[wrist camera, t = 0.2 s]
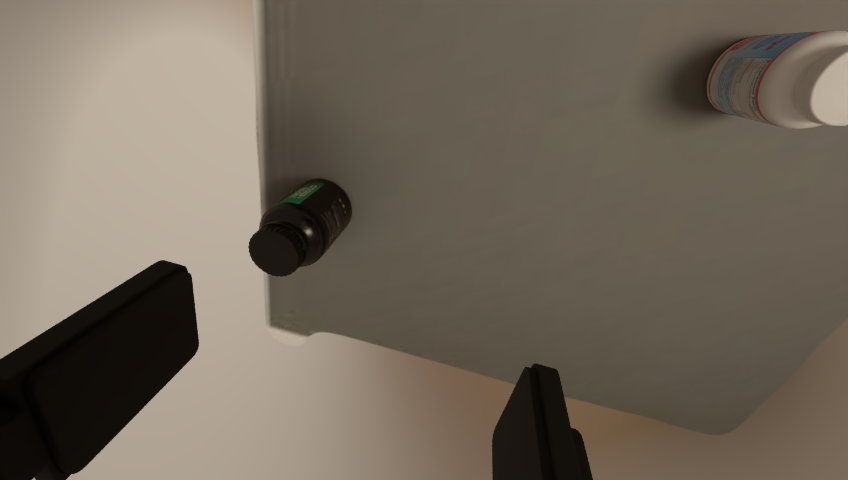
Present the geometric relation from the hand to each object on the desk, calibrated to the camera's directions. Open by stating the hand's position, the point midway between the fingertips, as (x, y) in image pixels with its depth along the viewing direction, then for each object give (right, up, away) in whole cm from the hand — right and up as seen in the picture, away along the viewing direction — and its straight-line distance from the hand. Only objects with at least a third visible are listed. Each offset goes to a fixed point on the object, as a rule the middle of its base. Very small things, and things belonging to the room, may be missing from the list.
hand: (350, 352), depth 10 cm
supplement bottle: (-10, +7, +33) cm, 36 cm away
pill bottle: (+29, +17, +21) cm, 40 cm away
